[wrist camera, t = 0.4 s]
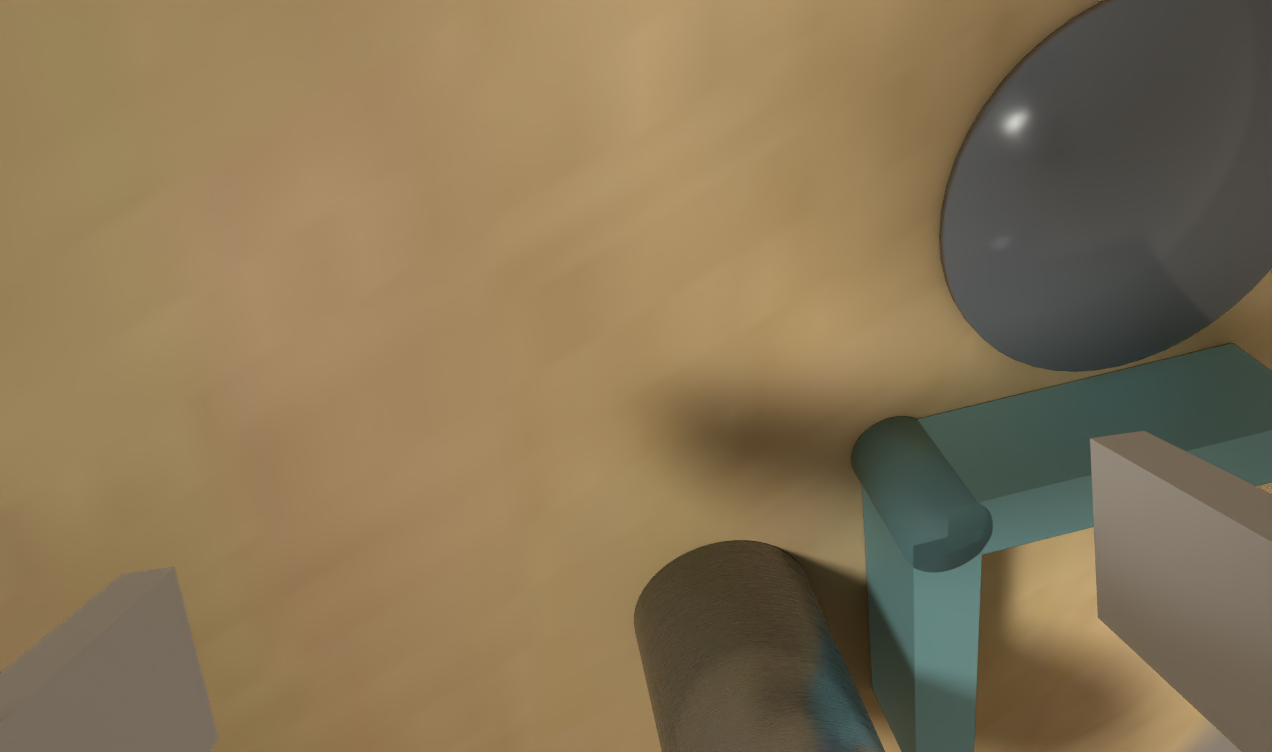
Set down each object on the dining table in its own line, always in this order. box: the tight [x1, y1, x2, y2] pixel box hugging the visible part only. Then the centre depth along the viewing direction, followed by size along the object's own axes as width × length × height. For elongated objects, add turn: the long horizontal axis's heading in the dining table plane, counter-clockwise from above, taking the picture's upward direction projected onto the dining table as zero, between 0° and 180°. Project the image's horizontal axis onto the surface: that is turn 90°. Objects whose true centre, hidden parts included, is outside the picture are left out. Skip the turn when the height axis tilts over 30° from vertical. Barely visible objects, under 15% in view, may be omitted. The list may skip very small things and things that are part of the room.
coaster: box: [939, 0, 1272, 372], centre depth 26 cm, size 11×11×1 cm
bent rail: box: [851, 343, 1272, 752], centre depth 31 cm, size 12×12×4 cm
